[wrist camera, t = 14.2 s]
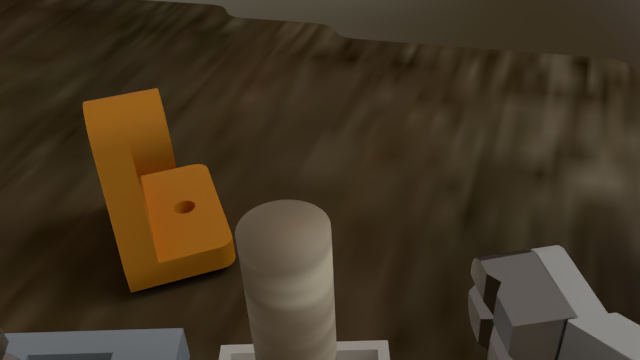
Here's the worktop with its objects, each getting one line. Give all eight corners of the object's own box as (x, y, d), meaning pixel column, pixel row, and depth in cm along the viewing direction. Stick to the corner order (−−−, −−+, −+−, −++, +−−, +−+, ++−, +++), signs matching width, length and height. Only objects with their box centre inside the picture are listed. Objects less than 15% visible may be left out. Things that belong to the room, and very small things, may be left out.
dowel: (339, 408, 32) (330, 197, 24) (342, 474, 29) (331, 259, 21) (272, 410, 32) (240, 201, 24) (267, 476, 29) (229, 263, 21)
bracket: (239, 272, 42) (215, 122, 35) (133, 301, 40) (85, 148, 33) (210, 188, 50) (185, 53, 44) (121, 209, 49) (80, 72, 42)
